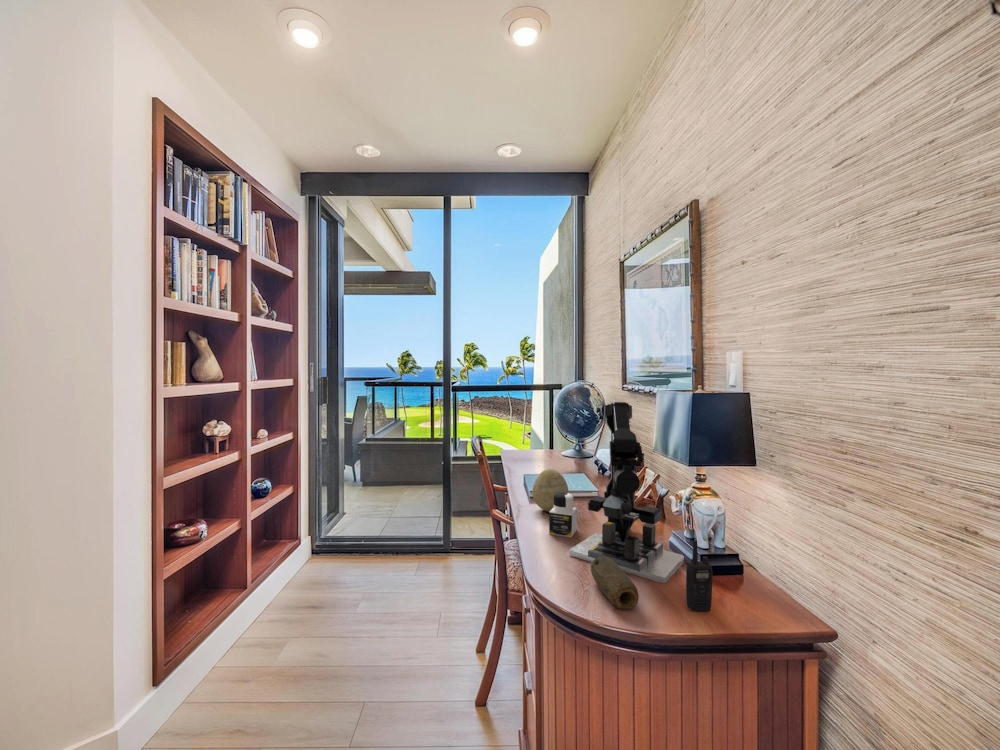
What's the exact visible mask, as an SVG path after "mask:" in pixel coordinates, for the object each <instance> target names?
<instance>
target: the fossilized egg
mask: <svg viewBox="0 0 1000 750" xmlns="http://www.w3.org/2000/svg"><path fill="white" fill-rule="evenodd" d="M560 492H565V493H569V487H568V483H567V481H566V479H565V477H564V476H563V475H562V474H561V473H560V472H559V471H558V470H557V469H555V468H546V469H544V470H542V471H541V472H540V473H539V474H538V475H537V477H536V478H535V479H534V482H533V485H532V498H533V500H534V502H535V504H536V505H537V506H538V507H539V509H541V510H542V511H545V512H550V511H551V510H552V508H553V507H554V495H555V494H556V493H560Z"/></svg>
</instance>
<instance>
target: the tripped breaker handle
mask: <svg viewBox="0 0 1000 750" xmlns="http://www.w3.org/2000/svg"><path fill="white" fill-rule="evenodd" d="M601 527H602V528H601V529H602V532H601V534H602V543H606V544H610V545H611V544H612V543H614V542H615V523H611V522H608V521H605V522H604V523H602V526H601Z"/></svg>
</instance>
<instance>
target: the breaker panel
mask: <svg viewBox="0 0 1000 750" xmlns="http://www.w3.org/2000/svg"><path fill="white" fill-rule="evenodd" d="M656 529H657V527H656V523H655V524H648V523H645V524H643V525H642V538H641V537H637V536H634V535H630V534H628V536H627V538H626V539H625V541H621V539H620V536H619V533H618V532H615V542H614V543H612V544H611V545H610V544H606V543H602V533H599V532H598V533H597V532H594V533H593V534H592V535H590V536H589V537H587V538H586V539H584V540H582V541H581V542H579V543H577V544H576V545H574V546H573V547H571V548H570V549H568V555H569V557H574V558H577V559H581V560H584V561H586V562H590V563H592V562H593V561H594V559H595V558H597V557H599V556H606V557H608V558H610V559H612V560H613V561H614V562H615V563H616V564H617V565H618V566H619V567H620V568H621V569H622V571H623V572H624V573H627V574H630V575H634V576H637V577H641V578H643V579H648V580H651V581H655V582H657V583H661V584H666V583H667V582H668V581H669V580H670V578H671V577H672V576H673V575H674V574H675V573H676V572H677V570H679V568H680V567H681V566H682V565H683V564H684V563H683V560H684V556H683V555H684V554H680V553H677V552H672V551H668V550H665V549H664V544H663V543H661V542H658V541H656ZM682 563H683V564H682Z"/></svg>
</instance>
